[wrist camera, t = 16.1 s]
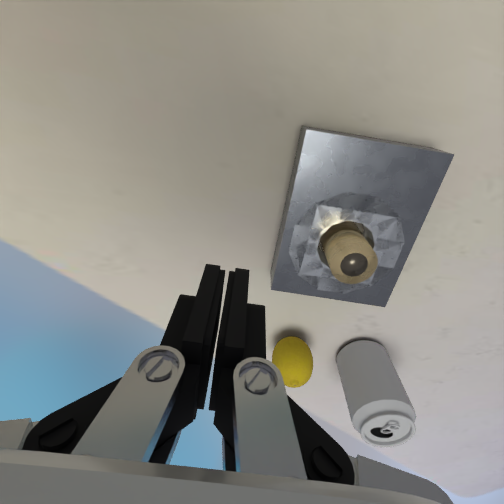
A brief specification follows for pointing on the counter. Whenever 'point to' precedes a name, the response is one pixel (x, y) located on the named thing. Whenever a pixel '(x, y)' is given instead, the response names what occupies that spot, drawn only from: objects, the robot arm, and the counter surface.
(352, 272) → the cylinder
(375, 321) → the counter surface
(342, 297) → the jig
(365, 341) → the can
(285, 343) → the lemon
